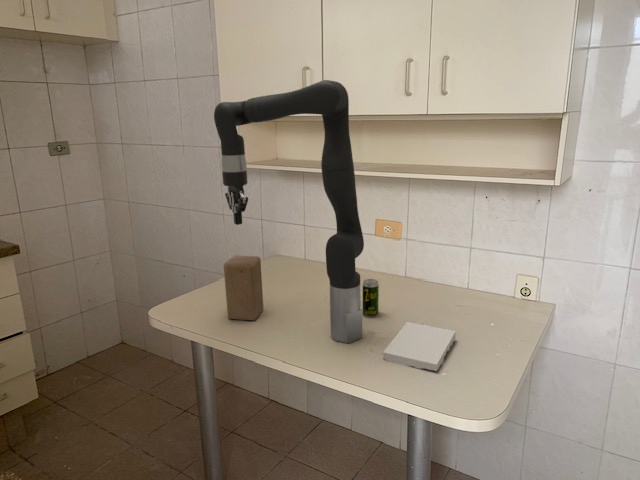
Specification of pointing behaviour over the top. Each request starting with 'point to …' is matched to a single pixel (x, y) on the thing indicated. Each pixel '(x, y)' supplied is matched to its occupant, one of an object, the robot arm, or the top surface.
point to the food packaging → (420, 346)
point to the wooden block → (243, 287)
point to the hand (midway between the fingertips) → (238, 223)
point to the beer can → (370, 298)
